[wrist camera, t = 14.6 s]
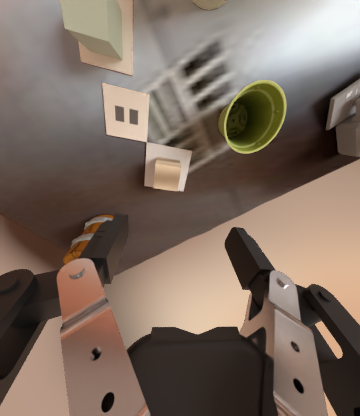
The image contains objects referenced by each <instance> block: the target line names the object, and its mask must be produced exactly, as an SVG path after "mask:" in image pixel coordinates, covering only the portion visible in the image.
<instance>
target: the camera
mask: <svg viewBox="0 0 360 416" xmlns="http://www.w3.org/2000/svg"><path fill="white" fill-rule="evenodd" d="M351 115H352V116H351ZM340 122H341V123H340ZM337 124H338V125H337ZM336 125H337V126H336ZM334 126H336V136H337V147H338V153H340V154H344V155H350V156H356V157H360V79H359V80H357V81H356V82H354V83H353V84H351V85H350V86H348V87H347V88H346V89H344V90H343V91H341V92H340V93H338V94H337V95H335V96H334V97H333V98H331V100H330V106H329V113H328V119H327V125H326V130H329V129H331V128H333V127H334Z"/></svg>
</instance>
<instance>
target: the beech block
mask: <svg viewBox="0 0 360 416" xmlns="http://www.w3.org/2000/svg"><path fill="white" fill-rule="evenodd" d="M180 174H181V164H180V160H174V159H168V158H162V157H157V160H156V163H155V175H154V187H153V188H157V189H164V190H171V191H177V190H178V185H179V179H180Z"/></svg>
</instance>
